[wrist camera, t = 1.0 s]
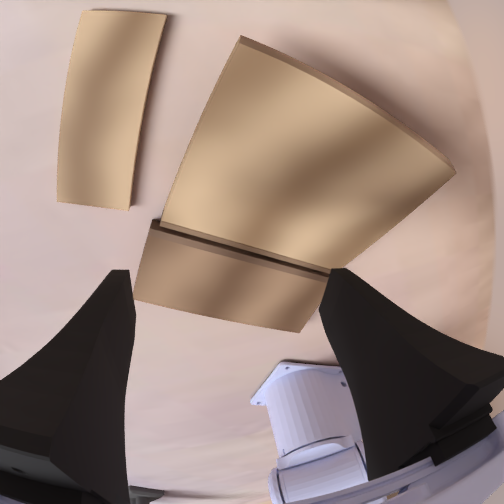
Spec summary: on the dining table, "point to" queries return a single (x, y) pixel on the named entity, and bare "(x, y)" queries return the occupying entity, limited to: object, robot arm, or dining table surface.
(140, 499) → the faucet
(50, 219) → the dining table surface
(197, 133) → the oak plank
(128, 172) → the plank
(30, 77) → the dining table surface
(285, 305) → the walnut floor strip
